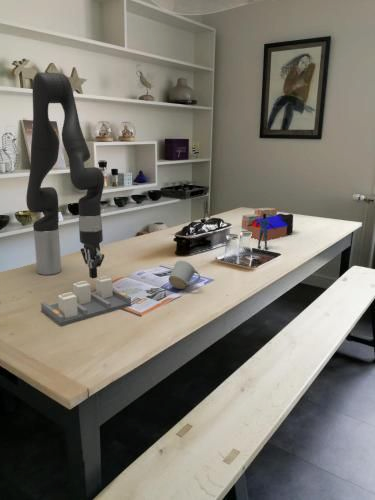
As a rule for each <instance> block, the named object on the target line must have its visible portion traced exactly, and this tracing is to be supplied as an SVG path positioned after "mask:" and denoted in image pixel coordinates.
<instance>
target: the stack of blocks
mask: <svg viewBox="0 0 375 500" xmlns="http://www.w3.org/2000/svg"><path fill="white" fill-rule="evenodd" d="M263 214H266V217H272V216H276V215H277V214H278V209H277V208H273V207H261V208H254V213H252V214H251V213H250V214H242V216H241V217H242V218H241V229H242V230H245V231H248V225H249V224H250V223H252V222H253V221H254V220H255V219H259V218H263Z"/></svg>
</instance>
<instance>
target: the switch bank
mask: <svg viewBox="0 0 375 500" xmlns="http://www.w3.org/2000/svg"><path fill="white" fill-rule="evenodd" d="M112 291H113V296H112V297H108V298H104V299H103V298H101V297H99V296H98V295H96V293H94V292H93V291H91V302H89V303H85V304H82V305H80V304H78V303H77V312H78V315H76V316H73V317H69V318H66V319H65V318H64V316H63V315H62V314H61V313H60V312H59V304H58V302H57V303H53V304H49V303H47V302H46V301H42V302H40V308H41V312H42V313H44V314H45V315H46V316H47V317H49V318H50V319H51V320H52V321H54V322H55V323H56V324H57V325H59V326H60V327H62V326H66V325H70V324H73V323H76V322H80V321H83V320H86V319H90V318H93V317H94V318H95V317H98V316H101V315H104V314H107V313H110V312H113V311H118V310H120V309H124V308H127V307H131V306H132V297H130V296H128V294H125V293H124V292H121V291H119V290H117V289H116V288H113V287H112Z"/></svg>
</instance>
